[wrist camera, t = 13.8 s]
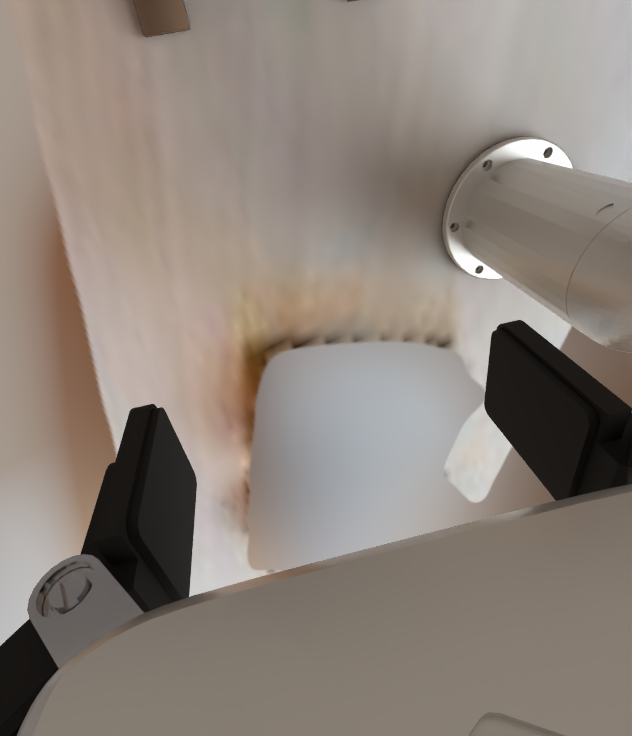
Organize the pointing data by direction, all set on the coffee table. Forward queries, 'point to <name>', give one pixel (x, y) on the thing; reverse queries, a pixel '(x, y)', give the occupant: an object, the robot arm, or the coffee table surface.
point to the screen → (162, 16)
